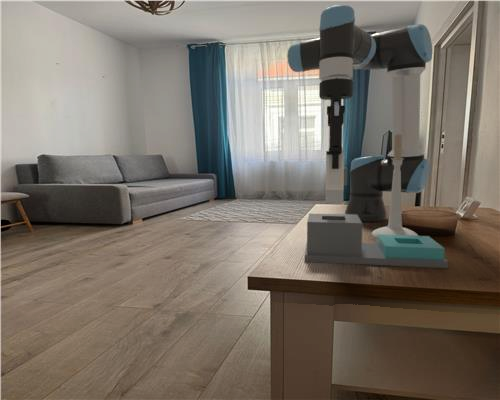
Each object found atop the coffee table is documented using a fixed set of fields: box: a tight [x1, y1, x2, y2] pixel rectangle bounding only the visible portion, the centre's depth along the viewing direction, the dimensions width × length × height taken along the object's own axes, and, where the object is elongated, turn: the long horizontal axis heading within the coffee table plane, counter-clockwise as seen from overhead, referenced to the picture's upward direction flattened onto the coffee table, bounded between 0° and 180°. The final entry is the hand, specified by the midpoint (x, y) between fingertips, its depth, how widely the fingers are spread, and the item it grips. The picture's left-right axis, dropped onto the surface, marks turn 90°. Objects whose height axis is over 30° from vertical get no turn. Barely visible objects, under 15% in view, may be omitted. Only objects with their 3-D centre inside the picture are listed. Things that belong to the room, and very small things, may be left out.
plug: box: [325, 150, 348, 204], centre depth 86 cm, size 5×4×12 cm
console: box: [304, 213, 449, 269], centre depth 86 cm, size 30×14×9 cm, turn 79°
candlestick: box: [371, 133, 419, 239], centre depth 105 cm, size 13×13×30 cm
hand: (334, 182), depth 86 cm, fingers closed on plug, 4 cm apart
